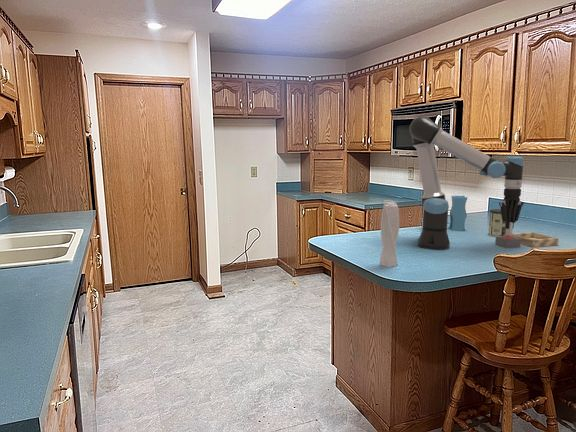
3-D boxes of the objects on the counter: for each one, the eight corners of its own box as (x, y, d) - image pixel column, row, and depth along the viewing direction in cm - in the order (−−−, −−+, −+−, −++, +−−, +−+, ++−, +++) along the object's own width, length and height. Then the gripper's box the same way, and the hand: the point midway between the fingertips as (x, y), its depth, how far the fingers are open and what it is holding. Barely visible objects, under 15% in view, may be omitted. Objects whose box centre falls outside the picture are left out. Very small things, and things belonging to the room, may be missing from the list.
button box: (506, 247, 211) (507, 239, 210) (495, 244, 219) (495, 236, 218) (520, 246, 213) (520, 239, 212) (508, 243, 221) (509, 235, 220)
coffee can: (505, 233, 244) (507, 209, 242) (510, 237, 234) (513, 212, 232) (485, 233, 246) (487, 208, 244) (490, 236, 236) (492, 211, 234)
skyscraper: (388, 268, 176) (391, 201, 171) (374, 264, 182) (377, 199, 177) (401, 265, 180) (404, 199, 176) (387, 261, 186) (390, 197, 182)
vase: (465, 231, 252) (467, 197, 249) (451, 230, 253) (453, 197, 250) (462, 228, 260) (464, 195, 256) (448, 228, 261) (450, 195, 257)
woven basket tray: (531, 247, 212) (532, 240, 212) (507, 240, 228) (508, 233, 227) (557, 245, 216) (558, 238, 216) (532, 238, 232) (533, 232, 231)
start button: (507, 243, 213) (508, 236, 212) (500, 242, 217) (501, 234, 217) (514, 243, 214) (515, 236, 214) (508, 241, 218) (508, 234, 218)
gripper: (507, 189, 206) (503, 237, 210) (529, 188, 209) (525, 235, 213) (496, 187, 213) (492, 234, 217) (517, 187, 216) (513, 232, 220)
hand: (508, 234), depth 215 cm, fingers closed
